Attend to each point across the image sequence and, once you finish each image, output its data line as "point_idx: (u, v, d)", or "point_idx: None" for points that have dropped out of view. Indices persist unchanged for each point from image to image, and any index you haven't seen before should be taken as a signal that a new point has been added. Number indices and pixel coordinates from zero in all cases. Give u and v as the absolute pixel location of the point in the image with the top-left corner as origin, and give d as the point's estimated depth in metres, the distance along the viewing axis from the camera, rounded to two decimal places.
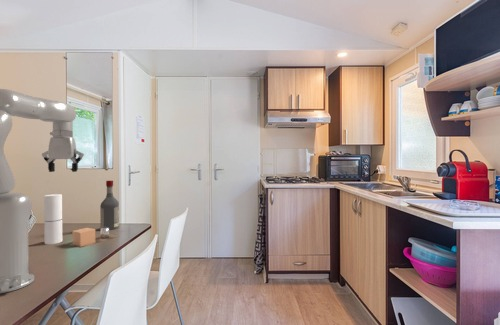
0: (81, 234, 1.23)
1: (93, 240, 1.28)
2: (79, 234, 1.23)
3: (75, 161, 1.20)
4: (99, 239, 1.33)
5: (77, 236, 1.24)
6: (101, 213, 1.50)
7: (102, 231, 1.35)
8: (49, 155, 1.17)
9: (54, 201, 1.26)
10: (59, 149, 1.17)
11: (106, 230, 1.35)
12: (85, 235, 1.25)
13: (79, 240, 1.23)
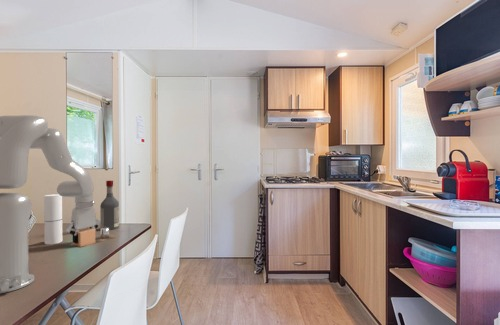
0: (81, 234, 1.23)
1: (93, 240, 1.28)
2: (79, 234, 1.23)
3: None
4: (99, 239, 1.33)
5: None
6: (101, 213, 1.50)
7: (102, 231, 1.35)
8: None
9: (54, 201, 1.26)
10: None
11: (106, 230, 1.35)
12: (85, 234, 1.25)
13: (79, 240, 1.23)
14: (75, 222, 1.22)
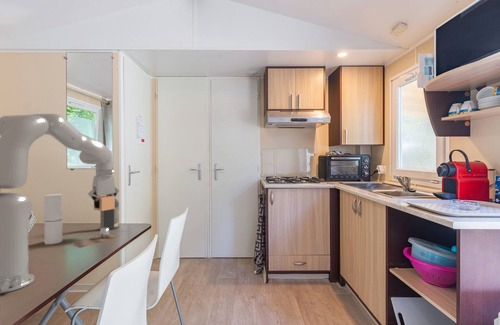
0: (102, 199, 1.32)
1: (113, 206, 1.37)
2: (100, 199, 1.32)
3: None
4: (99, 239, 1.33)
5: None
6: (101, 213, 1.50)
7: (102, 231, 1.35)
8: None
9: (54, 201, 1.26)
10: None
11: (106, 230, 1.35)
12: (106, 200, 1.33)
13: (100, 205, 1.32)
14: (97, 188, 1.31)
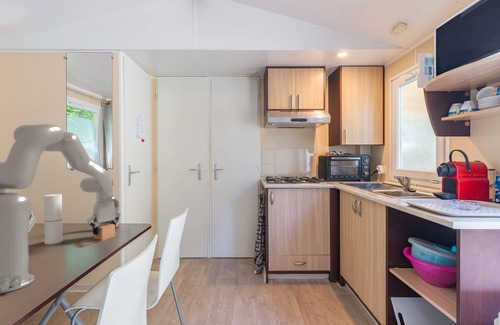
0: (102, 229, 1.32)
1: (113, 235, 1.37)
2: (101, 229, 1.32)
3: None
4: None
5: (99, 231, 1.33)
6: None
7: None
8: None
9: (54, 201, 1.26)
10: None
11: None
12: (106, 229, 1.34)
13: (101, 234, 1.32)
14: (97, 216, 1.31)
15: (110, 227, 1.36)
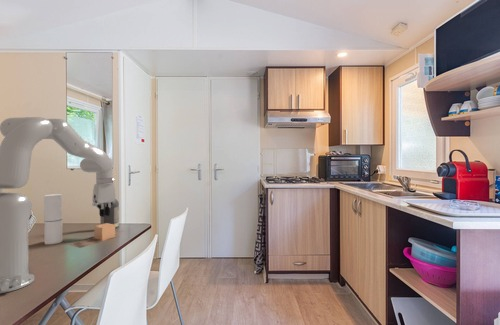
0: (102, 229, 1.32)
1: (113, 235, 1.37)
2: (101, 229, 1.32)
3: None
4: None
5: (99, 231, 1.33)
6: None
7: None
8: None
9: (54, 201, 1.26)
10: None
11: None
12: (106, 229, 1.34)
13: (101, 234, 1.32)
14: (97, 196, 1.31)
15: (110, 227, 1.36)
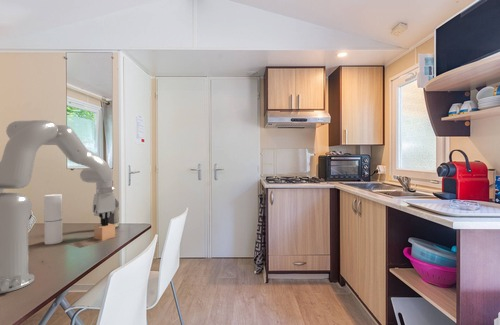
0: (102, 229, 1.32)
1: (113, 235, 1.37)
2: (101, 229, 1.32)
3: None
4: None
5: (99, 231, 1.33)
6: None
7: None
8: None
9: (54, 201, 1.26)
10: None
11: None
12: (106, 229, 1.34)
13: (101, 234, 1.32)
14: (97, 206, 1.31)
15: (110, 227, 1.36)
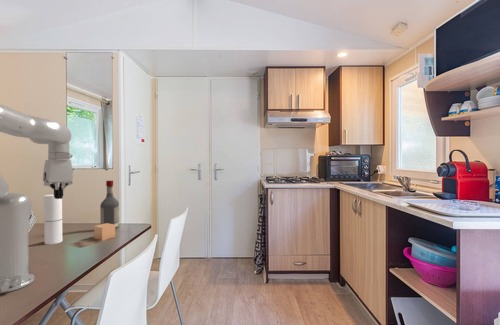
0: (102, 229, 1.32)
1: (113, 235, 1.37)
2: (101, 229, 1.32)
3: None
4: None
5: (99, 231, 1.33)
6: (101, 213, 1.50)
7: None
8: None
9: (54, 201, 1.26)
10: None
11: None
12: (106, 229, 1.34)
13: (101, 234, 1.32)
14: (47, 174, 1.09)
15: (110, 227, 1.36)
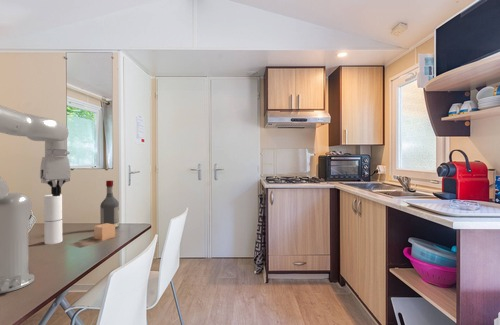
0: (102, 229, 1.32)
1: (113, 235, 1.37)
2: (101, 229, 1.32)
3: None
4: None
5: (99, 231, 1.33)
6: (101, 213, 1.50)
7: None
8: None
9: (54, 201, 1.26)
10: None
11: None
12: (106, 229, 1.34)
13: (101, 234, 1.32)
14: (45, 171, 1.08)
15: (110, 227, 1.36)
